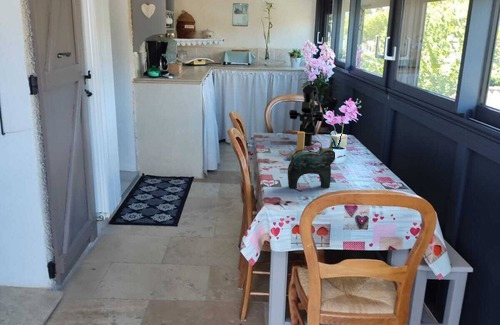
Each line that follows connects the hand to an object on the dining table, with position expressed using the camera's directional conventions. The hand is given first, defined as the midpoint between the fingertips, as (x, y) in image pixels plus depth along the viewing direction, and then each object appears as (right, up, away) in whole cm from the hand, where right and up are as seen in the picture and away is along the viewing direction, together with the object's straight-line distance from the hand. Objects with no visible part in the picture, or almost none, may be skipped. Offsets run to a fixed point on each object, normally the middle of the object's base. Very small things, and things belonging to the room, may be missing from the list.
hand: (304, 128), depth 246 cm
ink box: (+17, -16, -5) cm, 24 cm away
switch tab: (-3, -14, -7) cm, 16 cm away
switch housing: (-4, -16, -10) cm, 19 cm away
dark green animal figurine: (-4, -30, -55) cm, 63 cm away
